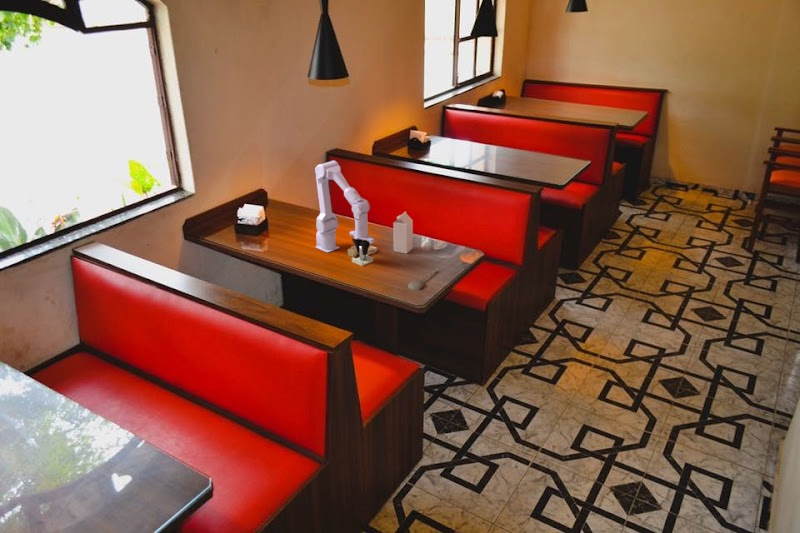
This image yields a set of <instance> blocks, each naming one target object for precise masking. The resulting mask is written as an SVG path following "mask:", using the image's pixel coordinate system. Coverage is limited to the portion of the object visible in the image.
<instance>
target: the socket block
mask: <svg viewBox="0 0 800 533" xmlns="http://www.w3.org/2000/svg"><path fill="white" fill-rule="evenodd" d="M350 248H352V249H354V250H355V249H356V246H355V244H354V245H352V246H350ZM376 252H378V247H376V246H374V245H371V244H370V246H369V248H368V252H367V254H366V255H368V256H370V255H371V254H375V253H376Z"/></svg>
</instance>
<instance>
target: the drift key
mask: <svg viewBox="0 0 800 533" xmlns="http://www.w3.org/2000/svg"><path fill="white" fill-rule="evenodd" d="M358 255H359V253H357V249H355V250H354V249H352V248H351V247H350V248H347V256H349V257H351V258H355V257H357V256H358Z"/></svg>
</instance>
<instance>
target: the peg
mask: <svg viewBox="0 0 800 533" xmlns="http://www.w3.org/2000/svg"><path fill="white" fill-rule="evenodd" d="M358 255H359V257H360V260H361V261H364V260H366V255H363V253H362V246H361V245H359V254H358Z"/></svg>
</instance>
